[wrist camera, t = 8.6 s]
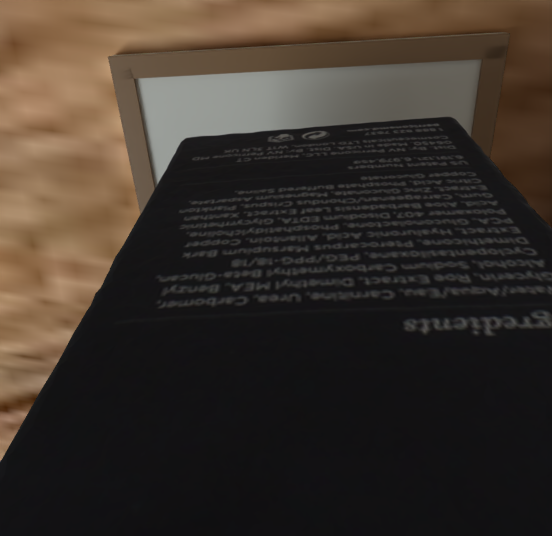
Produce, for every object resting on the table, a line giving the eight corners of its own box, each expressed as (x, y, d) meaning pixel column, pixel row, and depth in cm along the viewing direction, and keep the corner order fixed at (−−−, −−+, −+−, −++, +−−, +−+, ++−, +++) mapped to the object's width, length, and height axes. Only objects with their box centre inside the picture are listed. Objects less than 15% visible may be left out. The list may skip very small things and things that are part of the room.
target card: (444, 416, 17) (446, 425, 16) (187, 420, 17) (185, 428, 17) (503, 32, 11) (510, 33, 11) (113, 55, 11) (107, 56, 11)
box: (171, 126, 10) (-386, 982, 2) (458, 109, 9) (1453, 1055, 1) (228, 430, 15) (157, 994, 7) (413, 426, 14) (566, 1009, 6)
